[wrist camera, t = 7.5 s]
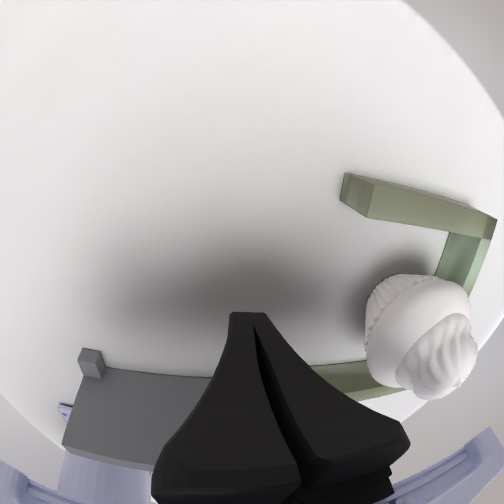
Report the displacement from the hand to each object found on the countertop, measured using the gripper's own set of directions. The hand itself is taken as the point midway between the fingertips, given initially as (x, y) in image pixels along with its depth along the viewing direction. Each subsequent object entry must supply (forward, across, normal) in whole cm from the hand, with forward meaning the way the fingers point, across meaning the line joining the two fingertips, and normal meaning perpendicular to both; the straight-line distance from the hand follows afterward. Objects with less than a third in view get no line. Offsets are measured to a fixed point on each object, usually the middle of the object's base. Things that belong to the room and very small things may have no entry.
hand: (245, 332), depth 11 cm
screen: (+2, +3, +6) cm, 7 cm away
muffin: (+2, -8, 0) cm, 9 cm away
